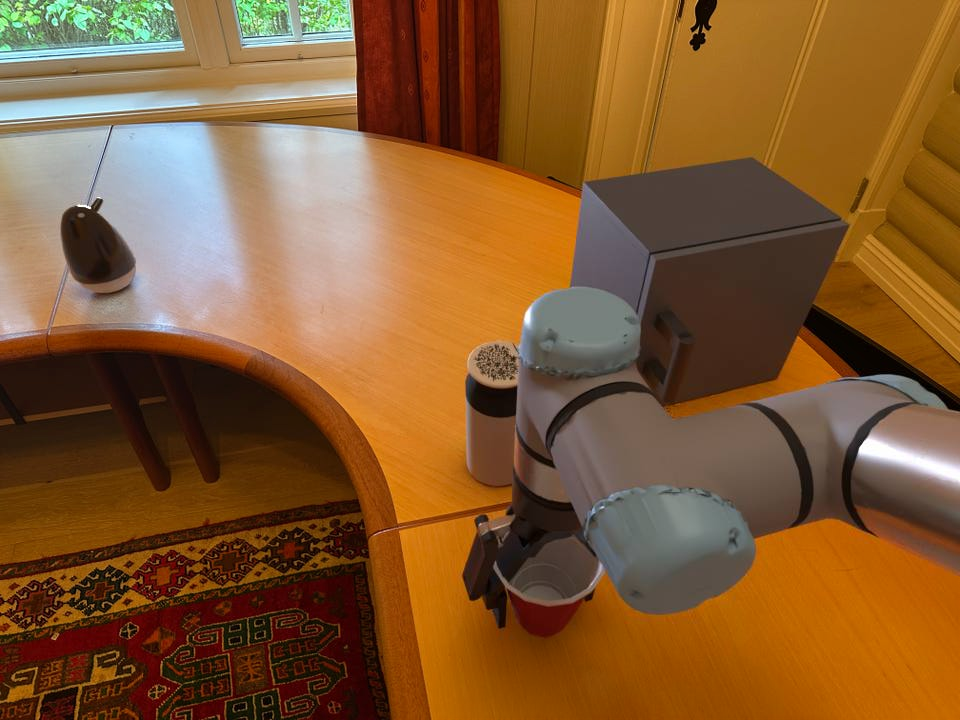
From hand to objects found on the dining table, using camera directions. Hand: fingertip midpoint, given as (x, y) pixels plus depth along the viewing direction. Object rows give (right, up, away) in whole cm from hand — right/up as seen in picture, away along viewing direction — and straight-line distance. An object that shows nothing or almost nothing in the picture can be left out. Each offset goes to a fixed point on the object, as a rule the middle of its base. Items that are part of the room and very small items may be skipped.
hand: (541, 602), depth 63 cm
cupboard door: (+26, +18, +23) cm, 40 cm away
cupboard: (+23, +26, +33) cm, 48 cm away
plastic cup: (0, -1, +1) cm, 2 cm away
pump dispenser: (-72, +39, +46) cm, 94 cm away
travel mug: (-4, +12, +17) cm, 21 cm away
